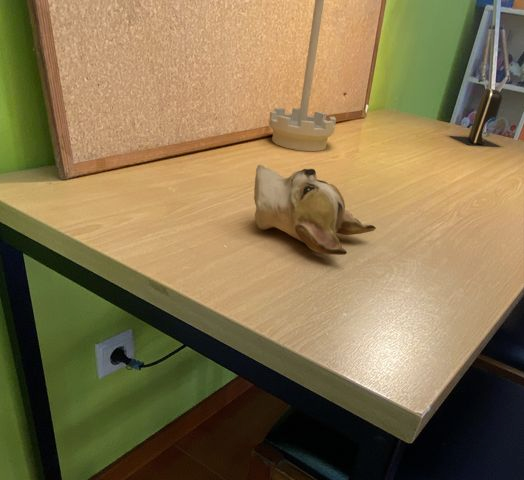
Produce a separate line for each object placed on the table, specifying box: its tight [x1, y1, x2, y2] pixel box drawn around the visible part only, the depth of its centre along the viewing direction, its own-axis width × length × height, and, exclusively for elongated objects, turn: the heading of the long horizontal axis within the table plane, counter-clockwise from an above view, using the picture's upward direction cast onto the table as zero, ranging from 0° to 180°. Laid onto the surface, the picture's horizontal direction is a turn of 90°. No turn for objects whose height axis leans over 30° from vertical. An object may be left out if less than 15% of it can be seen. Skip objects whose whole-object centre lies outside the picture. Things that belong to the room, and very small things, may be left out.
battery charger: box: [468, 88, 503, 144], centre depth 119 cm, size 7×4×11 cm, turn 166°
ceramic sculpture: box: [253, 164, 377, 256], centre depth 60 cm, size 11×9×15 cm
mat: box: [449, 135, 500, 148], centre depth 123 cm, size 8×9×1 cm
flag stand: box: [268, 0, 337, 152], centre depth 93 cm, size 13×13×30 cm
